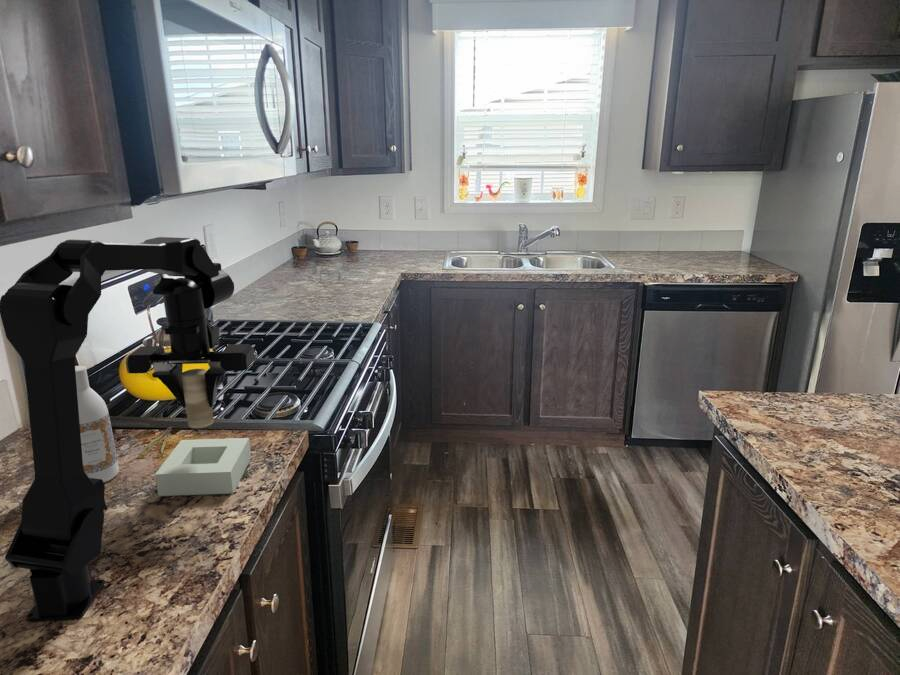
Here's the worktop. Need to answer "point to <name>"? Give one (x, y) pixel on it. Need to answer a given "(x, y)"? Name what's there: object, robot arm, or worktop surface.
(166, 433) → the tongs
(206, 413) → the peg
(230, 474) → the socket block
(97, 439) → the bath foam
